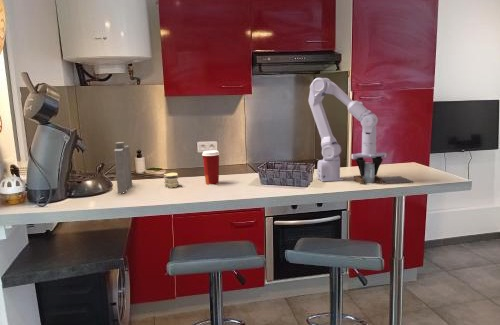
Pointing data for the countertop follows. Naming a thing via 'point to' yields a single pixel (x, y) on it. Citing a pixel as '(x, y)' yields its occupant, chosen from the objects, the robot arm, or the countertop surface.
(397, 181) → the rubber mat
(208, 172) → the paper cup
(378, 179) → the jug holder
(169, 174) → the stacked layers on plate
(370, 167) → the jug
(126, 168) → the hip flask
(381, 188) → the countertop surface
